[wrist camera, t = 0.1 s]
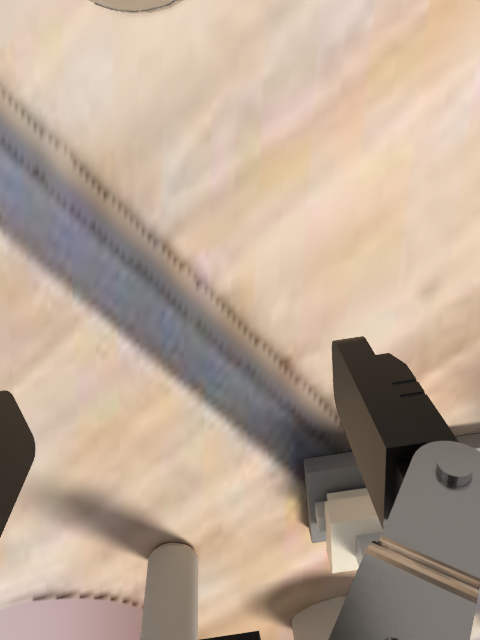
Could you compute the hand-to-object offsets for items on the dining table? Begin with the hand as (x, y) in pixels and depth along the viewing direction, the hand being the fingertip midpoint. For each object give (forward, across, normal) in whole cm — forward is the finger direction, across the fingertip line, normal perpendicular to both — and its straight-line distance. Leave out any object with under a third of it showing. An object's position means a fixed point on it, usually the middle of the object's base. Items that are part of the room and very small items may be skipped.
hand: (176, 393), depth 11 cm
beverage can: (+19, +8, +34) cm, 40 cm away
